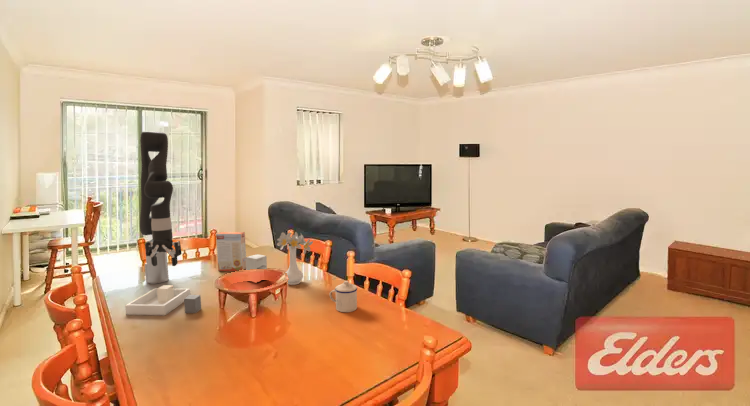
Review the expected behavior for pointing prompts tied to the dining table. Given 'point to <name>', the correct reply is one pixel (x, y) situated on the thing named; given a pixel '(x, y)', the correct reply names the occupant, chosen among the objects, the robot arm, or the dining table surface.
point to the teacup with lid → (345, 297)
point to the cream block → (165, 293)
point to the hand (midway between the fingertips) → (164, 265)
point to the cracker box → (231, 251)
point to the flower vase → (293, 254)
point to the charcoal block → (192, 303)
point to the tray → (155, 303)
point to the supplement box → (256, 262)
